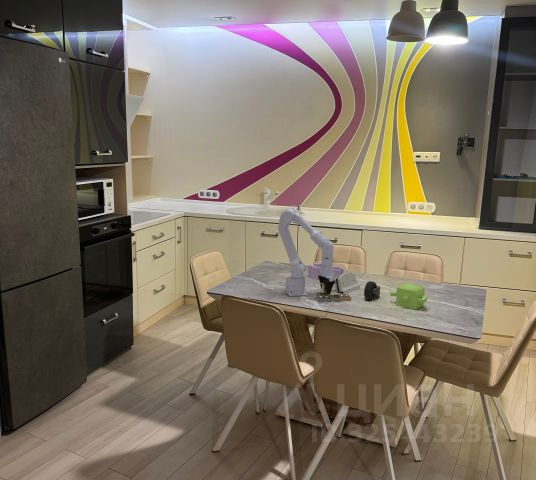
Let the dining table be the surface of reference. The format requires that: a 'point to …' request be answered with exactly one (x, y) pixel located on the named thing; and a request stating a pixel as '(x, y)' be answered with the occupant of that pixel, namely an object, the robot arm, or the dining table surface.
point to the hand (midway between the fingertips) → (325, 291)
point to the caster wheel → (371, 290)
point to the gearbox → (409, 296)
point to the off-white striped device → (346, 283)
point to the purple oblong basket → (316, 267)
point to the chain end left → (327, 298)
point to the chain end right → (343, 297)
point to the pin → (323, 289)
